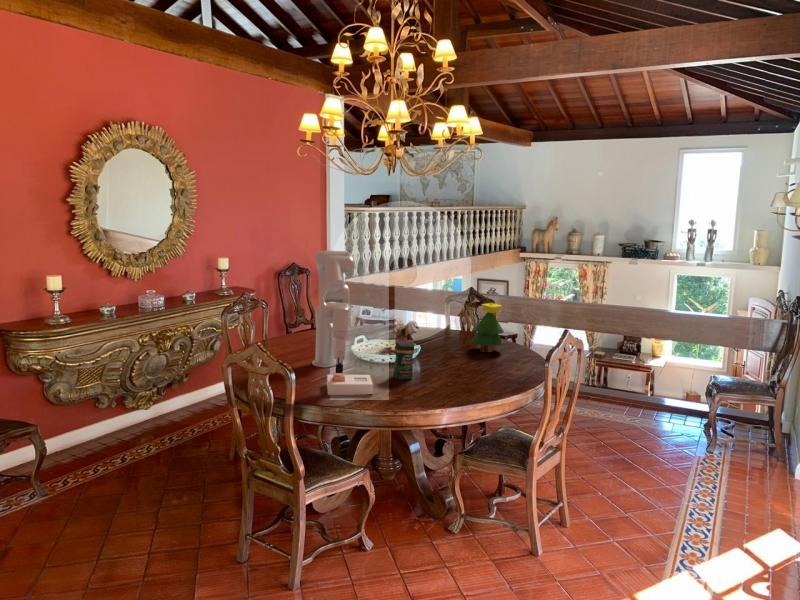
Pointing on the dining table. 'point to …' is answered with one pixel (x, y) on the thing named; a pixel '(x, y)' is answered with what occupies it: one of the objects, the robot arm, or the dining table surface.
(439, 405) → the dining table surface
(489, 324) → the decorative tree
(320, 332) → the robot arm
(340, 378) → the terracotta button
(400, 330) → the cherub figurine
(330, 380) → the button panel
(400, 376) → the coffee jar
